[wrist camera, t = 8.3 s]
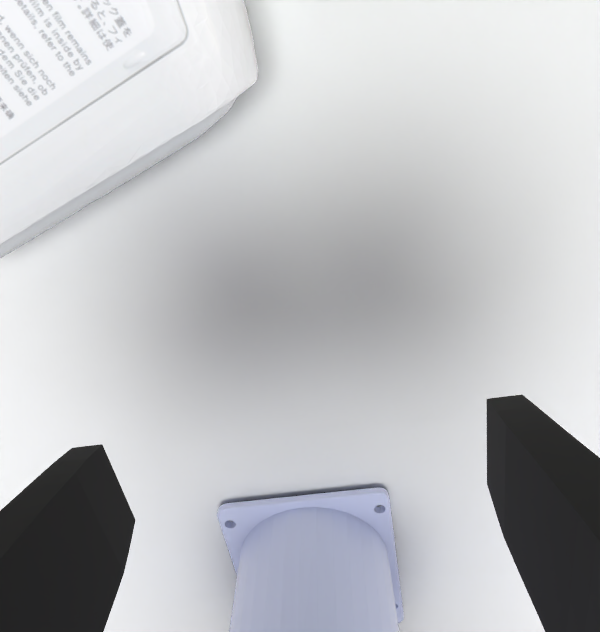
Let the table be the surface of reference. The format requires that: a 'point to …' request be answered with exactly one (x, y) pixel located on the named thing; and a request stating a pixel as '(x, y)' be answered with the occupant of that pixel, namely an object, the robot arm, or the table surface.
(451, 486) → the table surface
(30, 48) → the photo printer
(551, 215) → the table surface
